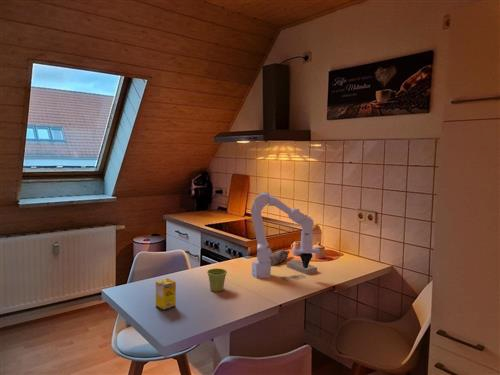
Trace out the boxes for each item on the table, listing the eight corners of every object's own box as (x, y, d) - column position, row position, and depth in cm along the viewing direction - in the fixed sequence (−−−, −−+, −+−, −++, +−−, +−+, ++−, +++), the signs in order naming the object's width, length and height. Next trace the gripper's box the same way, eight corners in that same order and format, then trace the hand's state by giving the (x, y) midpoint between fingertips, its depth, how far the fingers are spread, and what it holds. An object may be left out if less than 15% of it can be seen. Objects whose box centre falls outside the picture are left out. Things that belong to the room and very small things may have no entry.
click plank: (291, 287, 184) (292, 285, 183) (285, 282, 190) (285, 279, 190) (313, 284, 188) (313, 282, 188) (305, 279, 195) (305, 277, 194)
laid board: (284, 282, 190) (284, 279, 190) (280, 279, 194) (280, 276, 194) (306, 279, 195) (306, 277, 195) (302, 276, 199) (302, 274, 199)
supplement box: (175, 307, 157) (176, 281, 156) (163, 311, 152) (164, 285, 151) (167, 302, 161) (167, 277, 160) (155, 306, 156) (155, 281, 155)
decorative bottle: (274, 268, 212) (275, 256, 212) (263, 265, 216) (263, 254, 215) (294, 257, 234) (294, 247, 233) (283, 255, 238) (283, 245, 237)
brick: (318, 274, 204) (318, 266, 203) (307, 277, 199) (307, 269, 198) (296, 266, 217) (296, 258, 216) (285, 269, 212) (286, 261, 211)
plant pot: (208, 293, 172) (208, 275, 171) (205, 286, 181) (205, 268, 180) (228, 292, 175) (229, 274, 174) (224, 285, 184) (224, 267, 183)
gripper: (298, 244, 183) (296, 271, 185) (323, 242, 189) (321, 268, 190) (290, 240, 190) (289, 267, 191) (315, 238, 195) (314, 264, 197)
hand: (305, 267), depth 191 cm, fingers closed
